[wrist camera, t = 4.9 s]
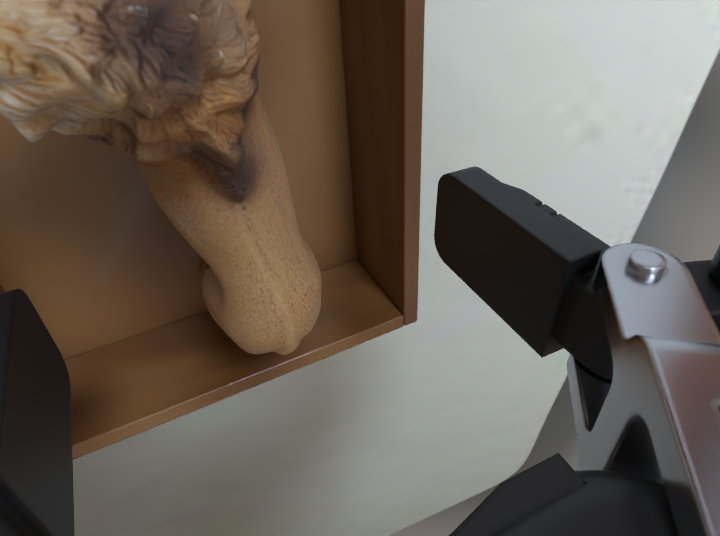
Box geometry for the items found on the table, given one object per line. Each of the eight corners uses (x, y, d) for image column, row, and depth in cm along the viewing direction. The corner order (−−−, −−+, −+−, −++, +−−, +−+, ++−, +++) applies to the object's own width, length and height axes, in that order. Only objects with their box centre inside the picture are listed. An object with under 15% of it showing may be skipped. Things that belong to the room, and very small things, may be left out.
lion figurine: (-151, -99, 10) (-508, -79, 4) (81, -226, 11) (130, -406, 4) (235, 314, 20) (321, 513, 14) (344, 241, 21) (477, 400, 14)
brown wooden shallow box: (41, 372, 18) (40, 473, 15) (-404, -276, 8) (-689, -379, 5) (366, 260, 22) (417, 321, 19) (335, -262, 12) (433, -313, 9)
